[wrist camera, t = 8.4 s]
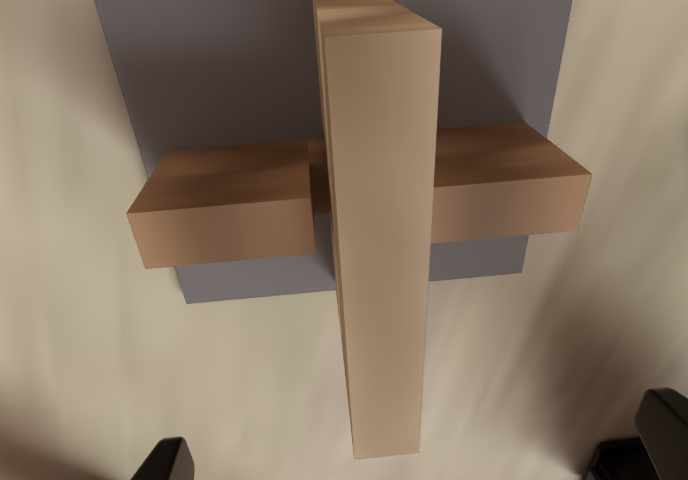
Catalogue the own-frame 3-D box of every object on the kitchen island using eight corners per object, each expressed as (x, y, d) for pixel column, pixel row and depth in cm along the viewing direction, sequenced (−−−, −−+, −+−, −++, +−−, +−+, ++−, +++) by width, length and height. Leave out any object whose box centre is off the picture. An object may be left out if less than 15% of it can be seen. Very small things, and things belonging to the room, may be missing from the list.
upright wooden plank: (372, -12, 16) (441, 29, 8) (377, 277, 22) (419, 452, 14) (312, -8, 15) (324, 36, 8) (335, 281, 22) (354, 459, 14)
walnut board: (525, 121, 18) (592, 174, 14) (517, 168, 20) (578, 230, 15) (166, 150, 18) (126, 213, 14) (179, 197, 19) (145, 269, 15)
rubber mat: (572, -42, 16) (580, -42, 16) (517, 266, 23) (521, 272, 22) (97, -12, 15) (91, -10, 15) (188, 297, 22) (186, 303, 22)
